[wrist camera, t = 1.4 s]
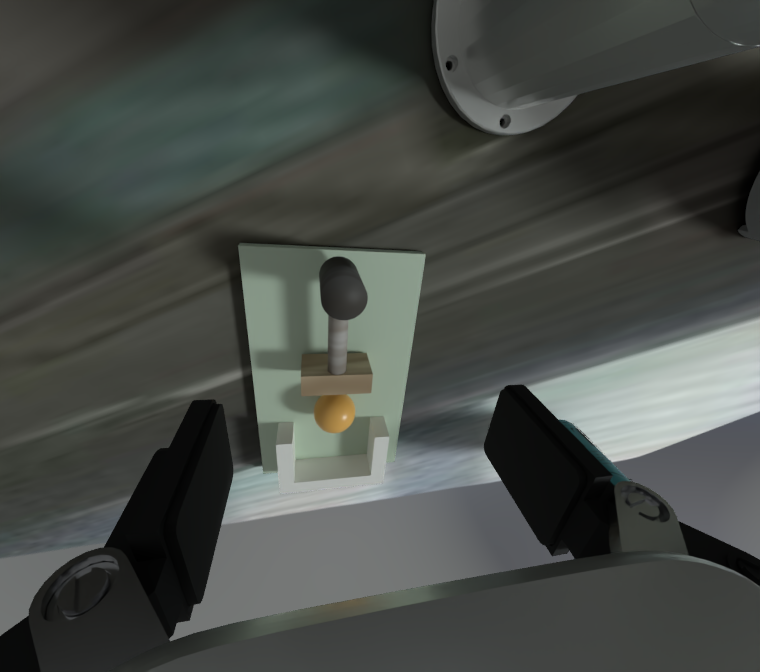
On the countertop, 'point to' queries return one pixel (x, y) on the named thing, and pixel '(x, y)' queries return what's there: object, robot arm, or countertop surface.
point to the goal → (331, 463)
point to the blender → (752, 213)
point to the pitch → (326, 341)
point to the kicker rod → (338, 335)
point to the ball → (334, 413)
